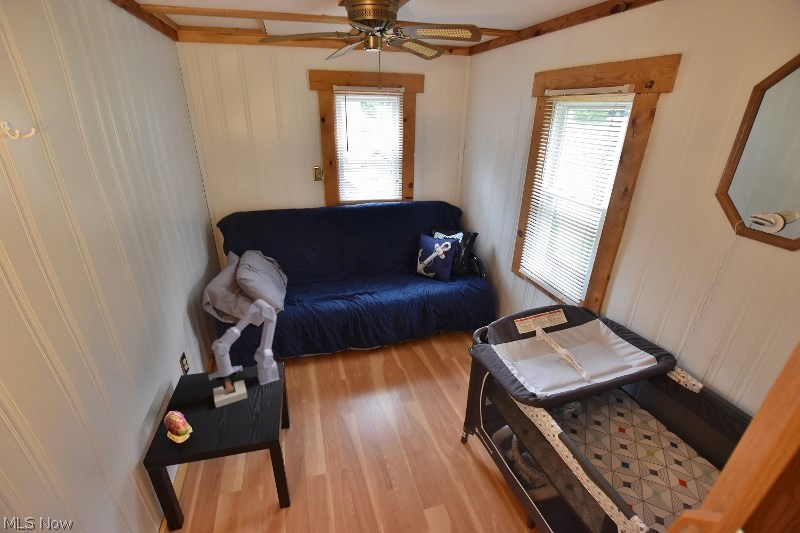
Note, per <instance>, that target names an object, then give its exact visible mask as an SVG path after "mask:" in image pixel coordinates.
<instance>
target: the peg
mask: <svg viewBox="0 0 800 533" xmlns="http://www.w3.org/2000/svg"><path fill="white" fill-rule="evenodd" d="M223 381H224V384H225V389H226V393H227V394H226V395H228V394H231V393H234V391H233V386H232V381H231V375H228V376H225V377H223Z"/></svg>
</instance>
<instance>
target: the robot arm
mask: <svg viewBox="0 0 800 533" xmlns="http://www.w3.org/2000/svg"><path fill="white" fill-rule="evenodd" d="M262 318H264V323H263V327H262V334H261V338H260V340H261V341H260V346H259V347H257V349H256V352H255V354H254V355H253V360H255V361H256V362H257V364H256V367H257V371H258V375H257V379H258V382H259V384H260V386H264V385H266V384H269V383H272V382H276V381H279V380H280V376H279V369H278V365H277V361H276V360H274V353H273V350H272V345H273V340H274V335H275V328H276V324H277V318H278V316H277V313H276V310H275V308H274V307H273V306H272V305H270V304H269V303H267V302H266V301H265V300H263V299H262V298H259V299H258V298H257V299H256V300H255V301H254V302H253V303H252V304H250V306H249V308H248V310H247V312H246V313H245V314H244V315H243V317H242V318H240V320H239V321H238V322H237V324H236V325H235V326H233V327H232V326H231V327H229V328H228V329H226V331H225V333H224V334H223V335H222V336H221V337H220V338H219V339H216V340H214V342H213V343H212V344H211V350H212V351H214V357H215V363H216V367H217V370H216V371H214V372H213V373H210V374H208V379H209V381H212V380H214V379H216V381H217V383H219V384H220V385H221V386H223V388H224V389H225V384H224V380H223V377H225V376H228V375H230V376H231V381H232V386H234V383H235V382H236V381H235V380H236V378H237V372H243V366H242V365H237V366H236V365H235V366H232V363H231V359H230V353H229V352H230V348H231V346H232V345H233V344H234V343H235V342H236V341H237V339H239V337H241V332H242V331H243V330H244V329H245V328H246V327H247V326H248V325H249V324H250V323H252V321H253V320H261V319H262Z"/></svg>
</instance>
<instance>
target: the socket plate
mask: <svg viewBox="0 0 800 533" xmlns="http://www.w3.org/2000/svg"><path fill="white" fill-rule="evenodd" d="M212 389H213V390H212V392H213V399H214V405H215V408H216V409H217V408H219V407H224V406H225V405H226V406H227V405H230V404H233V403H236V402H239V401H241V400H245V399H247V398H248V392H247V388H246V384H245V380H244V379H242V380H238V381H234V386H233V391H234V392H233V393H231V394H227V393H226V389H224V388H223V386H222V385H221V386H219V387H215V388H212Z"/></svg>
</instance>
